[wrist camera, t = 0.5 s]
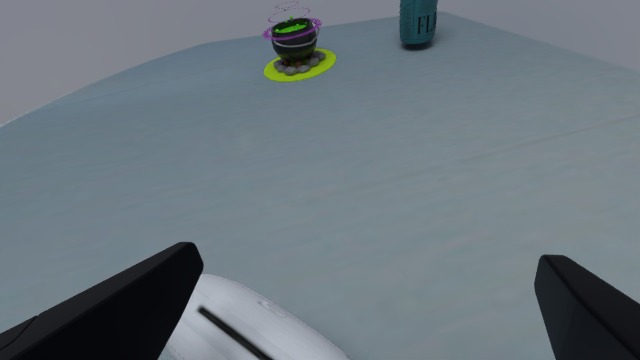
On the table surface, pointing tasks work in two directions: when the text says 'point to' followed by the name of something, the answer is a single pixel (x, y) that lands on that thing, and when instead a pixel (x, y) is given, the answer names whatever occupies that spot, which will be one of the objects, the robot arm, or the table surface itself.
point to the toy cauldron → (297, 51)
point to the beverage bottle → (417, 20)
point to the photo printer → (243, 327)
